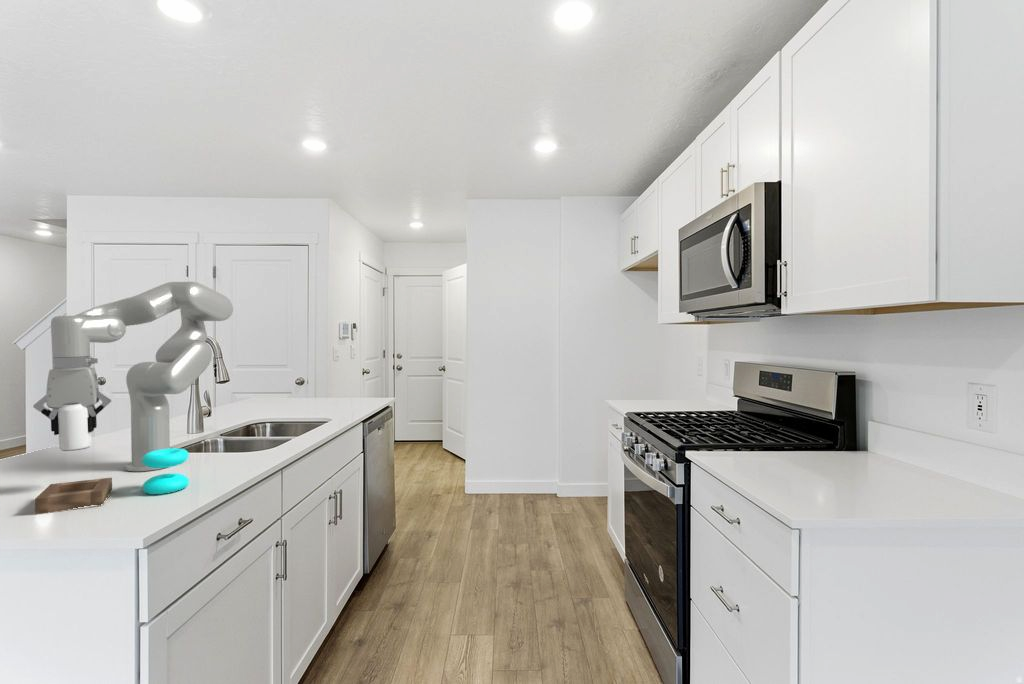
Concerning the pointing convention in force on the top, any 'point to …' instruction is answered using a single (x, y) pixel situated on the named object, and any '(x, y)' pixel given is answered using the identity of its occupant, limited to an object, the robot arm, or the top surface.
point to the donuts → (165, 481)
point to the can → (73, 427)
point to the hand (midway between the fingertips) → (74, 431)
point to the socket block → (73, 495)
